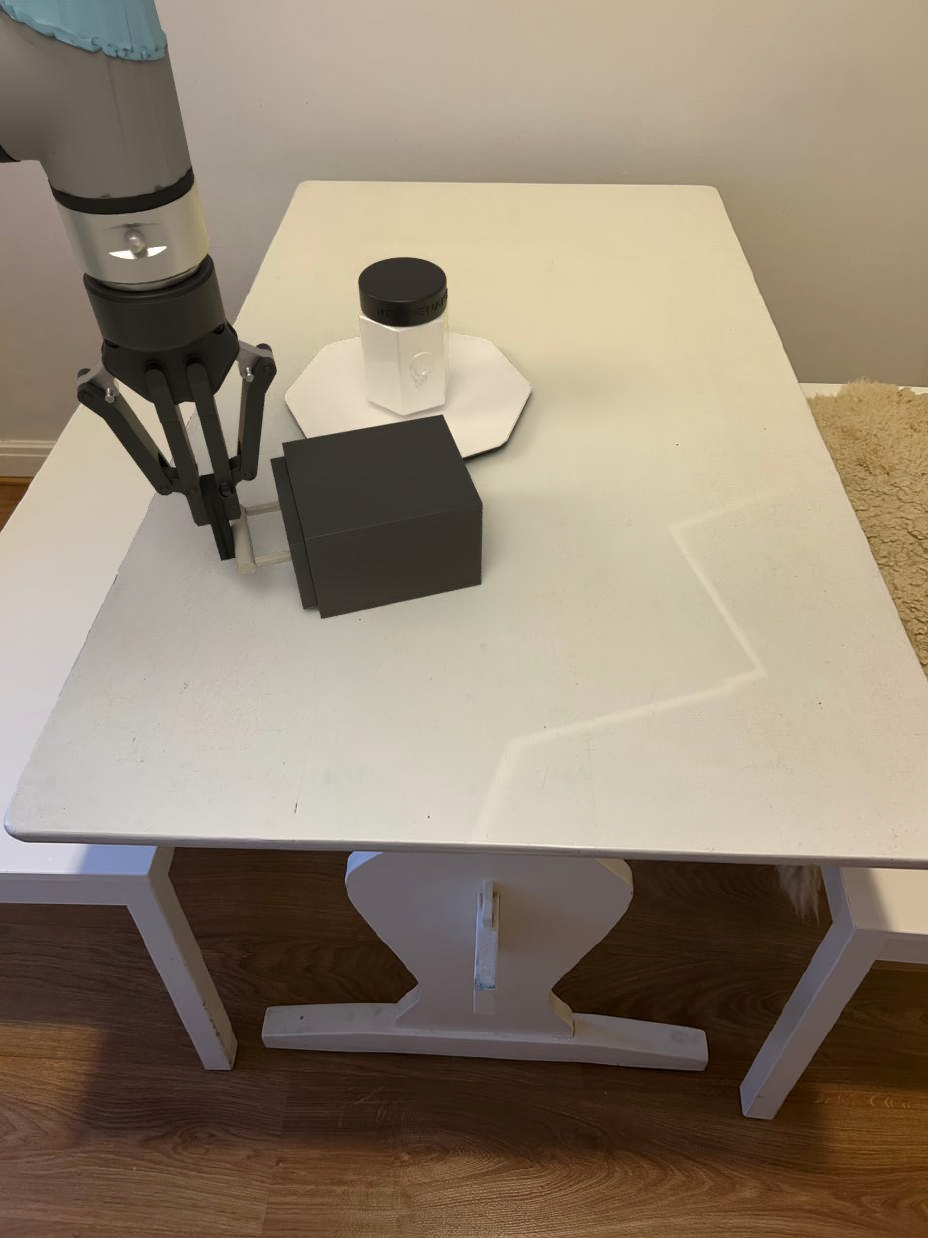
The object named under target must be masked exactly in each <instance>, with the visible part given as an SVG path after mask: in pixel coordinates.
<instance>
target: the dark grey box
mask: <svg viewBox="0 0 928 1238" xmlns="http://www.w3.org/2000/svg"><path fill="white" fill-rule="evenodd" d="M281 447H282V451H283V456H284V457H285V460H286V465H287V469H288V473H289V477H290V481H291V486H292V490H293V494H294V498H295V503H296V507H297V511H298V515H299V519H300V524H301V528H302V532H303V536H304V541H305V545H306V550H307V555H308V560H309V564H310V569H311V574H312V579H313V584H314V589H315V593H316V598H317V603H318V606H317V609H318V612H319V617H320V619H321V620H323V619H327V618H332V617H337V616H341V615H346V614H350V613H355V612H360V611H364V610H369V609H373V608H374V609H375V608H378V607H383V606H387V605H391V604H392V605H393V604H396V603H401V602H406V601H410V600H411V601H412V600H415V599H420V598H424V597H429V596H433V595H434V596H435V595H438V594H442V593H447V592H453V591H456V590H461V589H466V588H470V587H476V586H479V585H481V584H482V563H483V562H482V561H483V518H484V517H483V515H484V503H483V501H482V499H481V497H480V494H479V492H478V490H477V487H476V486H475V483H474V481H473V479H472V476H471V474H470V471H469V469H468V467H467V465H466V463H465V461H464V459H463V458H462V456H461V454H460V452H459V449H458V447H457V445H456V443H455V440H454V438H453V436H452V434H451V432H450V429H449V427H448V425H447V423H446V420H445V418H444V416H443V414H441V415H436V416H430V417H424V418H419V419H413V420H407V421H402V422H396V423H391V424H385V425H379V426H374V427H368V428H362V429H357V430H351V431H345V432H340V433H334V434H328V435H323V436H317V437H312V438H306V437H305V438H300V439H296V440H290V441H289V440H288V441H285V442H281Z"/></svg>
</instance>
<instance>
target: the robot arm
mask: <svg viewBox="0 0 928 1238" xmlns="http://www.w3.org/2000/svg"><path fill="white" fill-rule="evenodd" d="M22 161H37V162H39V163H40V165H41V167H42V169H43V171H44V173H45V175H46V176H47V182H48V185H49V188H50V191H51V193H52V194H51V195H52V196H53V198H54V200H55V201H54V202H55V203H56V207H57V209H58V213H59V215H60V219H61V221H62V224H63V227H64V230H65V234H66V236H67V240H68V242H69V245H70V248H71V251H72V254H73V257H74V261H75V263H76V265H77V266H78V267H79V269H80V270H81V271H82V272H83V276H82V282H83V286H84V288H85V292H86V294H87V297H88V301H89V302H90V306H91V308H92V312H93V315H94V317H95V320H96V323H97V326H98V329H99V332H100V334H101V337H102V344H101V348H100V351H101V357H100V358H101V360H100V361H99V362H97V364H96V365H94V366H93V367H92V368H87V367H85V368H81V369H79V371H78V372H77V375H76V377H77V378H76V380H77V381H76V398H77V401H78V402H79V403H80V404H81V405H83V406H84V407H86V408H87V409H89V410H90V411H92V412H93V413H94V414H96V415H97V416H99V417H100V418H101V419H103V421H104V422H105V423H106V425H107V426H108V427H109V429H110V430H111V431H112V433H113V434H114V436H115V437H116V438H117V440H118V442H120V444H121V445H122V447H123V448H124V449H125V450H126V452H127V453H128V455H129V456H130V457H131V458H132V459H131V460H132V461H134V463H135V465H136V466H137V467H138V468H139V470H140V472H142V474H143V475H144V476H145V479H147V481H148V482H149V484H150V485H151V486H152V487H153V489H154V491H156V493H157V494H158V495H160V496H164V497H166V496H170V495H172V494H173V493H177V494H181V495H183V496H184V497H185V498H186V500H187V504H188V507H189V510H190V513H191V516H192V520H193V523H194V524H195V525H196V526H197V527H198V528H199V527H204V526H210V528H211V532H212V535H213V538H214V542H215V545H216V548H217V552H218V556H219V558H220V561H221V562H223V561H228V560H233V559H236V556H235V549H234V543H233V537H232V531H231V525H230V520H236V519H240V517H241V508H240V504H241V503H240V499H239V495H238V491H237V485H238V484H239V483H240V482H243V481H244V482H252V481H253V480H255V479H256V478H257V476H258V470H259V459H260V451H261V440H262V431H263V423H264V422H263V420H264V410H265V401H266V393H267V392H268V390H269V388H270V386H271V384H272V383H273V381H274V379H275V377H276V375H277V373H278V369H277V364H276V360H275V357H274V353H273V349H272V347H271V345H269V344H268V343H264V342H262V343H258V344H256V345H255V346H254V345H252V344H250V343H248V342H245V341H243V340H240V339H239V335H238V332H237V330H236V329H235V328H234V326H232V324H231V323H230V322H229V321H228V319H227V317H226V313H225V308H224V307H225V306H224V303H223V299H222V294H221V289H220V286H219V281H218V276H217V270H216V267H215V263H214V262H215V261H214V259H213V258H212V257H211V255H210V254H209V253H208V252H209V251H210V238H209V235H208V230H207V225H206V220H205V216H204V212H203V207H202V203H201V202H202V201H201V198H200V193H199V189H198V185H197V184H198V183H197V180H196V179H197V178H196V175H195V174H194V173H195V172H194V169H193V164H192V161H191V155H190V151H189V146H188V141H187V136H186V131H185V126H184V121H183V117H182V111H181V107H180V102H179V97H178V91H177V87H176V82H175V78H174V72H173V68H172V62H171V57H170V52H169V43H168V37H167V34H166V32H165V31H164V30H163V29H162V25H161V22H160V18H159V14H158V10H157V6H156V3H155V0H0V164H7V163H8V164H9V163H20V162H22ZM235 362H237V367H238V372H239V376H240V377H241V378H242V380H241V391H240V392H241V393H240V404H239V419H238V428H237V429H238V431H237V441H236V442H237V443H236V455H234V456H232V457H230V455H229V452H228V447H227V444H226V439H225V435H224V430H223V427H222V423H221V418H220V415H219V410H218V406H217V401H216V398H215V395H216V394H217V393H218V392H219V391H220V389H221V387H222V385H223V384H224V381H225V380H226V378H227V376H228V374H229V373H230V371H231V370H232V367H233V365H234V364H235ZM118 381H119V382H121V383H122V384H123V385H125V386H126V387H127V388H129V389H130V390H131V391H133V392H134V393H136V394H137V395H139V396H140V397H141V398H142V399H144V400H146V401H147V402H149V403H151V404H153V405H154V408H155V412H156V414H157V418H158V421H159V423H160V424H161V427H162V430H163V433H164V436H165V439H166V442H167V446H168V448H169V451H170V454H171V458H172V460H173V463H174V466H172V464H170V462H169V461H168V459H167V458H166V456H165V454H163V452H162V450H161V449H160V447H159V446H158V445H157V443H156V442H155V440H154V439H153V438H152V436H151V434H150V433H149V432H148V430H147V429H146V427H145V425H144V424H143V422H142V421H141V420H140V419H139V417H138V416H137V414H136V413H135V411H134V409H132V407H131V406H130V404H129V403H128V401H127V400H126V398H125V397H124V396H123V394H122V393H121V392H120V384H119V382H118ZM183 403H194V406H195V409H196V412H197V416H198V419H199V423H200V426H201V430H202V433H203V438H204V441H205V445H206V449H207V452H208V457H209V460H210V464H211V469H212V472H211V473H205V474H200V472H199V471H200V470H199V465H198V463H197V460H196V457H195V454H194V451H193V447H192V444H191V440H190V437H189V433H188V430H187V427H186V424H185V420H184V417H183V414H182V411H181V408H180V404H183Z"/></svg>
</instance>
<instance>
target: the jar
mask: <svg viewBox="0 0 928 1238" xmlns="http://www.w3.org/2000/svg"><path fill="white" fill-rule="evenodd" d="M357 285H358V286H357V287H358V295H359V304H360V305H359V306H360V311H359V314H358V322H359V332H360V333H359V334H360V336H361V343H362V352H363V362H364V372H365V381H366V391H367V399H368V400H369V401H371V402H373V403H376V404H378V405H380V406H382V407H385V408H387V409H389V410H391V411H394V412H396V413H398V414H400V415H407V414H411V413H414V412H418V411H422V410H425V409H429V408H433V407H436V406H440V405H443V404H444V403H445V399H446V393H447V387H448V382H449V332H450V331H449V294H448V293H449V291H448V278H447V274H446V272H445V271H444V270H443V268H442V267H441V266H439V265H438V264H436V263H434V262H432V261H430V260H426V259H424V258H420V257H412V256H411V257H409V256H397V257H389V258H385V259H381V260H378V261H375V262H373V263H371V264H370V265H368V266H367V267H365V268H364V269H363V270H362V271H361V272H360V274H359V276H358V279H357Z"/></svg>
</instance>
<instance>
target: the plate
mask: <svg viewBox="0 0 928 1238" xmlns="http://www.w3.org/2000/svg"><path fill="white" fill-rule="evenodd" d="M448 332H449V382H448V387H447V393H446V399H445V403H444V404H443V405H440V406H436V407H433V408H429V409H425V410H422V411H418V412H414V413H411V414H407V415H400V414H398V413H396V412H394V411H391V410H389V409H387V408H385V407H382V406H380V405H378V404H376V403H373V402H371V401H369V400H368V399H367V391H366V381H365V372H364V362H363V352H362V343H361V335H358V336H354V337H350V338H347V339H343V340H339V341H335V342H331V343H329V344H327V345H325V346H323V347H321V349H319V351H318V352H317V353H316V355H315V356H314V357H313V358H312V359H311V361H310V362H308V364H307V366H306V367H305V368H304V369H303V371H302V372H301V373H300V374H299V376H298V377H297V378H296V380H295V381H294V382H293V383H292V384H291V385H290V387H289V388H288V389H287V390H286V391H285V394H284V403H285V405H286V406H287V408H288V409H289V411H290V414H292V416H293V418H294V420H295V421H296V423H297V425H298V427H299V428H300V430H301V431H302V433H303V435H304V437H305V439H306V438H312V437H317V436H323V435H328V434H334V433H340V432H345V431H351V430H357V429H362V428H368V427H374V426H379V425H385V424H391V423H396V422H402V421H407V420H413V419H419V418H424V417H430V416H436V415H441V414H443V416H444V418H445V420H446V423H447V425H448V427H449V429H450V432H451V434H452V436H453V438H454V440H455V443H456V445H457V447H458V449H459V452H460V454H461V456H462V458H463V460H466V459H470V458H471V457H475V456H478V455H481V454H486V453H487V452H491V451H494V450H497V449H499V448H501V447H503V446H504V445H505V444H506V443H508V441H509V439H510V437H511V435H512V432H513V430H514V429H515V426H516V424H517V422H518V420H519V418H520V417H521V414H522V412H523V410H524V408H525V405H526V404H527V402H528V400H529V397H531V394H532V387H531V383H530V382H529V381H528V380H527V379H526V378H525V377H524V376H523V374H522V373H521V372H520V371H519V370H518V369H517V368H516V367H515V366H514V364H513V363H511V361H509V359H508V358H507V357H506V356H505V355H504V354H503V352H501V350H499V348H498V347H497V346H496V345H495V344H494V343H493V342H492V341H490V340H488V339H487V338H485V337H484V338H483V337H479V336H473V335H469V334H468V335H467V334H463V333H457V332H452V331H448Z"/></svg>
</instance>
